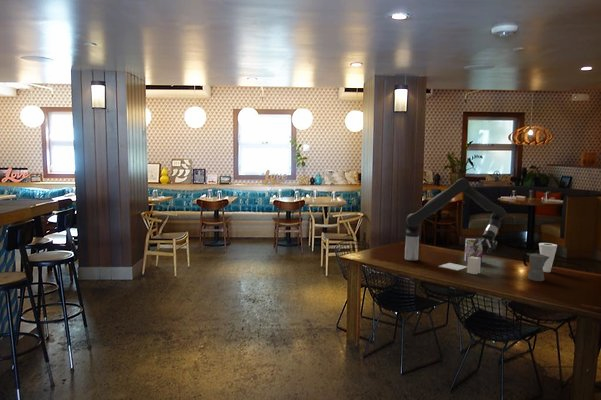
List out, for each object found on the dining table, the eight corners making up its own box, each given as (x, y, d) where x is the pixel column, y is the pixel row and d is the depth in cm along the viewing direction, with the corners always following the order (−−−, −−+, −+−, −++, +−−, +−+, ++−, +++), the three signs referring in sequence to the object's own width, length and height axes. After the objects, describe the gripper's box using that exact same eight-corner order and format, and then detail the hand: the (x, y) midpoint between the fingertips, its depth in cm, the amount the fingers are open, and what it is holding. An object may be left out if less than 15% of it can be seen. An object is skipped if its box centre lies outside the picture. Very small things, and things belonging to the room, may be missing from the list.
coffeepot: (549, 279, 277) (551, 250, 275) (546, 282, 270) (548, 253, 268) (521, 275, 286) (523, 247, 284) (518, 278, 278) (520, 249, 277)
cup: (553, 274, 289) (555, 246, 287) (535, 271, 296) (536, 244, 294) (557, 271, 297) (559, 244, 295) (539, 268, 304) (541, 242, 302)
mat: (457, 270, 296) (457, 270, 296) (438, 266, 306) (438, 265, 306) (468, 267, 305) (468, 266, 305) (449, 263, 315) (449, 262, 315)
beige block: (475, 274, 286) (476, 259, 285) (467, 272, 291) (467, 257, 290) (480, 273, 290) (480, 257, 289) (471, 271, 294) (472, 256, 293)
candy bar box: (465, 262, 319) (467, 239, 317) (464, 260, 324) (465, 238, 322) (482, 262, 318) (483, 240, 316) (480, 261, 323) (481, 238, 321)
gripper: (478, 228, 305) (469, 247, 298) (499, 231, 294) (490, 250, 288) (481, 235, 309) (472, 253, 302) (502, 238, 298) (493, 257, 292)
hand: (481, 252), depth 295 cm, fingers open, 8 cm apart
